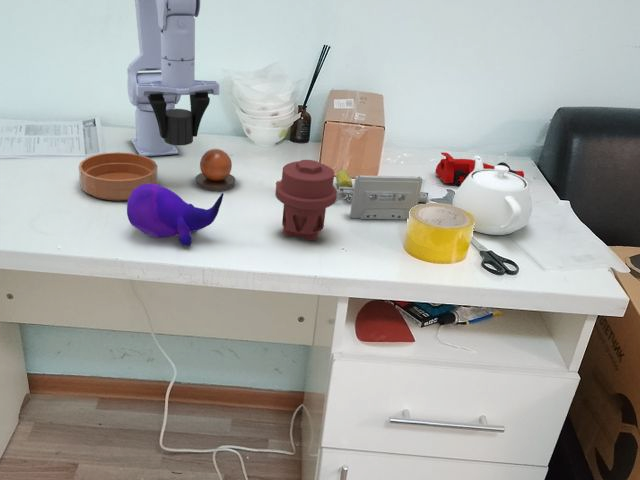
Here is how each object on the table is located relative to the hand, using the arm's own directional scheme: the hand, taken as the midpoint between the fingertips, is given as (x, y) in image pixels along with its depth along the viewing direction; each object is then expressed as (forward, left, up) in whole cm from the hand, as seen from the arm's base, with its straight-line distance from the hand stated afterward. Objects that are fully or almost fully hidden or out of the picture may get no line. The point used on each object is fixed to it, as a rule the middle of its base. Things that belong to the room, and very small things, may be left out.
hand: (178, 135), depth 131 cm
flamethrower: (+11, +31, -10) cm, 34 cm away
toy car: (+10, +61, -10) cm, 63 cm away
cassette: (+22, +32, -10) cm, 40 cm away
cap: (0, 0, -1) cm, 1 cm away
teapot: (+28, +50, -10) cm, 58 cm away
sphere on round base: (+1, +7, -9) cm, 12 cm away
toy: (+21, -6, -10) cm, 24 cm away
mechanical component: (+25, +15, -10) cm, 31 cm away
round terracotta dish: (-1, -11, -9) cm, 14 cm away
